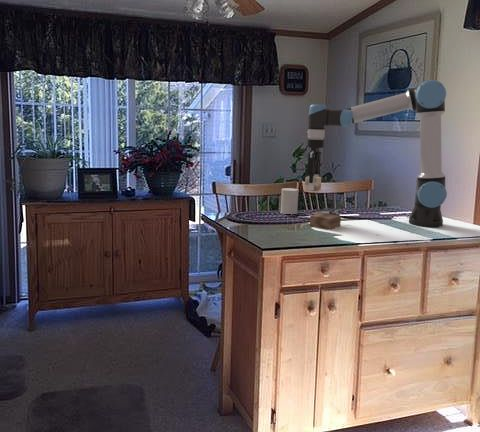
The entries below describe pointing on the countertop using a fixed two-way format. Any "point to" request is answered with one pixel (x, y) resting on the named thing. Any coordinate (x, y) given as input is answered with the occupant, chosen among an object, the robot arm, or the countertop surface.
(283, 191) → the cup
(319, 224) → the walnut block
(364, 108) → the robot arm
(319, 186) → the maple cube
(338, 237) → the countertop surface
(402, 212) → the countertop surface
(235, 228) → the countertop surface
